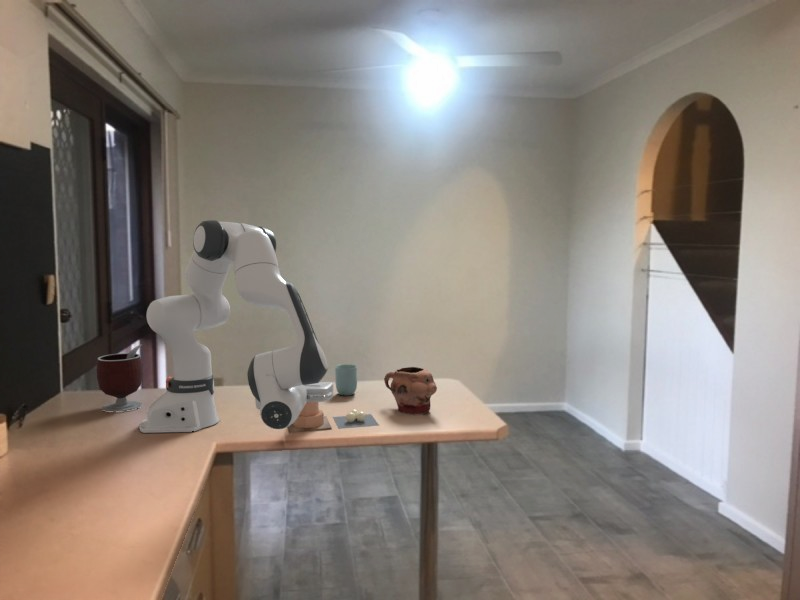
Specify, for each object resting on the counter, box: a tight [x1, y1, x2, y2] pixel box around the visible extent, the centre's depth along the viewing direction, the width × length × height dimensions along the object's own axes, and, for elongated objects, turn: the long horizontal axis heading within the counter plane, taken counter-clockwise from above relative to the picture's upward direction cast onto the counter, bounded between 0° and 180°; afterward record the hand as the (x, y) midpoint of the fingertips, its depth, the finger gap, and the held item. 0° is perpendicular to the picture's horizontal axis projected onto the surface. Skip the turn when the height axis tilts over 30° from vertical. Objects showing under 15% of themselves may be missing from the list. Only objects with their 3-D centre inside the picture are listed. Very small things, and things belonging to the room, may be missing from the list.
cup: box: [334, 363, 358, 396], centre depth 223 cm, size 8×8×10 cm
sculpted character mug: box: [384, 366, 438, 415], centre depth 201 cm, size 20×12×14 cm, turn 59°
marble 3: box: [356, 411, 366, 422], centre depth 189 cm, size 3×3×3 cm
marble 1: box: [349, 409, 359, 416], centre depth 191 cm, size 3×3×3 cm
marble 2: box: [345, 412, 356, 423], centre depth 188 cm, size 3×3×3 cm
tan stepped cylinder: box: [293, 402, 325, 428], centre depth 185 cm, size 9×9×13 cm
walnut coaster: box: [287, 416, 332, 433], centre depth 186 cm, size 12×12×1 cm
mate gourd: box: [96, 344, 144, 412], centre depth 208 cm, size 16×14×20 cm
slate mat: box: [332, 413, 380, 430], centre depth 189 cm, size 12×12×1 cm
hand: (299, 383), depth 172 cm, fingers open, 8 cm apart
